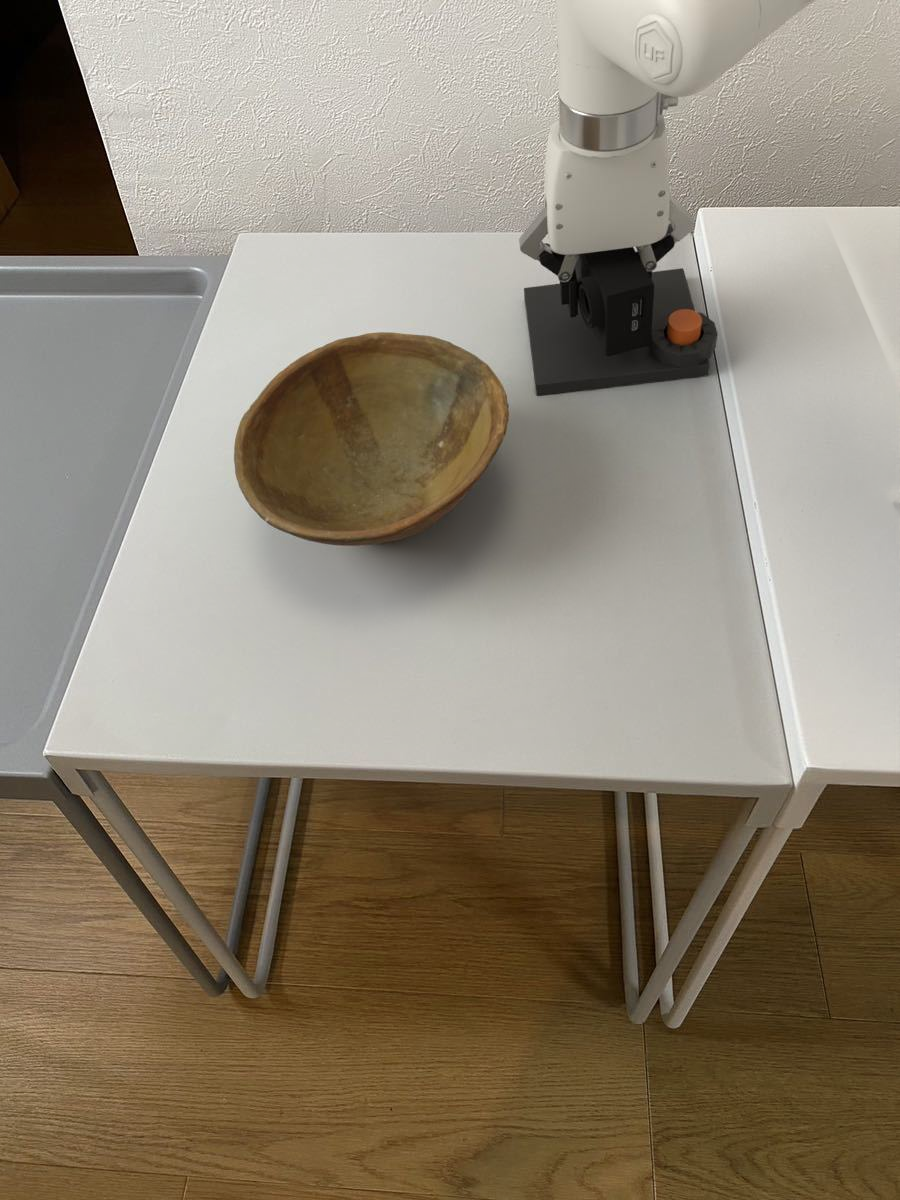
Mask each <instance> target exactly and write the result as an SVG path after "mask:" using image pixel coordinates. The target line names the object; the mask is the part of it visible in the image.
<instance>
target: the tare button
mask: <svg viewBox="0 0 900 1200" xmlns="http://www.w3.org/2000/svg"><path fill="white" fill-rule="evenodd" d="M697 312H698V311H696V310H695V311H693V310H689V309H681V310H677V311H675V312H673V313H672V314H671V315H670V316H669V319H668V328H667V337H668V339H669V341H671V342H672V343H673V344H678V345H682V346H683V345H691V344H693V343H695V342H696V341H697V340H698V339H699V338H700V333H701V325H702V318H701V316H700V315H699V314H698V313H697Z"/></svg>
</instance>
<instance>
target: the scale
mask: <svg viewBox="0 0 900 1200" xmlns="http://www.w3.org/2000/svg"><path fill="white" fill-rule="evenodd" d="M652 281H653V283H654V300H653V315H652V331H651V345H650V346H646V347H642V348H638V349H635V350H631V351H627V352H624V353H620V354H616V355H612V356H609V357H607V356H605V354H604V352H603V350H602V348H601V346H600V344H599V342H598V340H597V338H596V336H595V334H594V331H593V329H592V328H591V329H588V328H587V326H586V325H585V323H584V321H583V318H582V315H581V311H580V308H579V303H578V315H576V317H571V318H570V313H569V307H568V304H565V305H561V299H560V283H553V284H545V285H537V286H528V287H524V288H523V297H524V305H525V313H526V314H525V315H526V322H527V331H528V338H529V347H530V353H531V355H530V356H531V363H532V371H533V380H534V387H535V395H536V396H544V395H553V394H562V393H570V392H579V391H580V392H581V391H589V390H598V389H605V388H613V387H615V388H616V387H623V386H632V385H639V384H641V385H642V384H647V383H648V384H650V383H657V382H665V381H674V380H683V379H691V378H700V377H709V373H710V366H711V364H710V361H709V359H710V358H711V357H712V355H713V353H714V351H715V349H716V347H717V341H718V336H719V334H718V329H717V327H716V323H715V322H714V320H713V319H711V318H710V317H708V316H707V315H705V313H702V312H699V311H696V310H695V306H694V303H693V299H692V296H691V291H690V288H689V284H688V280H687V277H686V273H685V270H684V268H683V267H681V268H680V267H679V268H674V269H673V268H672V269H666V270H665V269H664V270H657V271H652ZM681 309H689V310H693V311H695V312H697V313H698V314H699V315H700V316H701V318H702V325H701V333H700V338H699V339H698V340H697V341H696V342H695V343H693V344H691V345H683V346H682V345H678V344H673V343H672V342H671V341H669V339H668V337H667V328H668V319H669V316H670V315H671V314H672V313H673V312H675V311H677V310H681Z"/></svg>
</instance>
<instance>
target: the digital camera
mask: <svg viewBox="0 0 900 1200" xmlns="http://www.w3.org/2000/svg"><path fill="white" fill-rule="evenodd" d="M636 252H637V250H635V247H629V248H622V249H614V250H607V251H599V252H591V253H582V254H580V255H579V258H578V261H577V264H576V266H575V271H576V276H577V283H578V303H579V308H580V311H581V315H582V318H583V321H584V323H585V325H586V326H587V328H588V329H591V328H592V329H593V331H594V334H595V336H596V338H597V340H598V342H599V344H600V346H601V348H602V350H603V352H604V354H605V356H607V357H609V356H612V355H616V354H620V353H624V352H627V351H631V350H635V349H638V348H642V347H646V346H650V345H651V331H652V315H653V300H654V283H653V281H652V279H651V278H650V276H649V274H648V272H647V271H646V269H645V267H644V265H643V264H642V262H641V260H640V258H639V257H638V255H637V253H636Z"/></svg>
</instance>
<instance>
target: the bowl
mask: <svg viewBox="0 0 900 1200" xmlns="http://www.w3.org/2000/svg"><path fill="white" fill-rule="evenodd" d="M509 407H510V406H509V403H508V395H507V392H506V390H505V387H504V386H503V383H502V382H501V380H500V379H499V377H498V376H497V375H496V374H495V372H494V370H493V369H492V368H491V367H490V366H489V364H488V363H486V362H485V361H484V360H482V359H481V358H480V357H479V356H477V355H476V354H474V353H472V352H470V351H468V350H466V349H464V348H463V347H460V346H458V345H456V344H454V343H452V342H450V341H448V340H445V339H442V338H439V337H436V336H431V335H425V334H424V335H423V334H410V333H399V332H390V331H389V332H386V331H378V332H369V333H368V332H367V333H364V334H361V335H357V336H349V337H345V338H344V337H343V338H339V339H336V340H334V341H331V342H329V343H326V344H324V345H323V346H321V347H318V348H315V349H314V350H312V351H310V352H307V353H305V354H304V355H302V356H300V357H299V358H297V359H296V360H294V361H293V362H291V363H290V364H289V365H287V366H286V367H285V368H284V369H282V370H281V371H279V372H277V374H276V375H275V376H274V377H273V378H272V379H271V380H270V381H269V382H268V384H266V386H265V388H263V389H262V391H261V392H260V393H259V395H258V397H257V398H256V399H255V400H254V401H253V402H252V404H251V405H250V406H249V409H247V410H246V411H245V413H244V414H243V416H242V417H241V419H240V422H239V423H238V424H239V425H238V427H237V431H236V434H235V438H234V446H233V447H234V448H233V449H234V450H233V451H234V452H233V462H234V463H233V464H234V475H235V479H236V482H237V484H238V487H239V489H240V492H241V493H242V495H243V497H244V499H245V501H246V502H247V503H248V505H249V506H250V508H252V510H253V511H254V512H255V513H256V514H257V515H258V516H259V518H260V519H262V520H263V521H264V522H266V523H267V524H268V525H270V526H271V527H273V528H275V529H276V530H278V531H281V532H283V533H285V534H289V535H291V536H294V537H295V538H299V539H301V540H305V541H309V542H314V543H317V544H318V543H319V544H323V545H332V546H346V547H348V546H349V547H350V546H352V547H353V546H354V547H355V546H357V547H358V546H359V547H360V546H369V545H377V544H384V543H389V542H395V541H399V540H403V539H407V538H409V537H412V536H415V535H416V534H419V533H421V532H423V531H424V530H427V528H429V527H431V526H432V525H433V524H435V523H436V522H437V521H438V520H439V519H441V518H442V517H443V516H445V515H446V514H448V512H450V511H451V510H453V509H454V507H456V506H457V505H458V504H459V503H460V502H461V501H462V500H463V498H465V496H466V495H467V494H469V492H470V491H471V489H472V488H473V486H474V485H475V484H476V483H477V482H478V480H480V478H481V477H482V475H483V474H484V473H485V471H486V470H487V468H488V466H489V465H490V463H491V462H492V460H493V459H494V457H496V455H497V453H498V451H499V449H500V447H501V445H502V444H503V439H504V438H505V436H506V434H507V428H508V422H509V417H510V411H509Z"/></svg>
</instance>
